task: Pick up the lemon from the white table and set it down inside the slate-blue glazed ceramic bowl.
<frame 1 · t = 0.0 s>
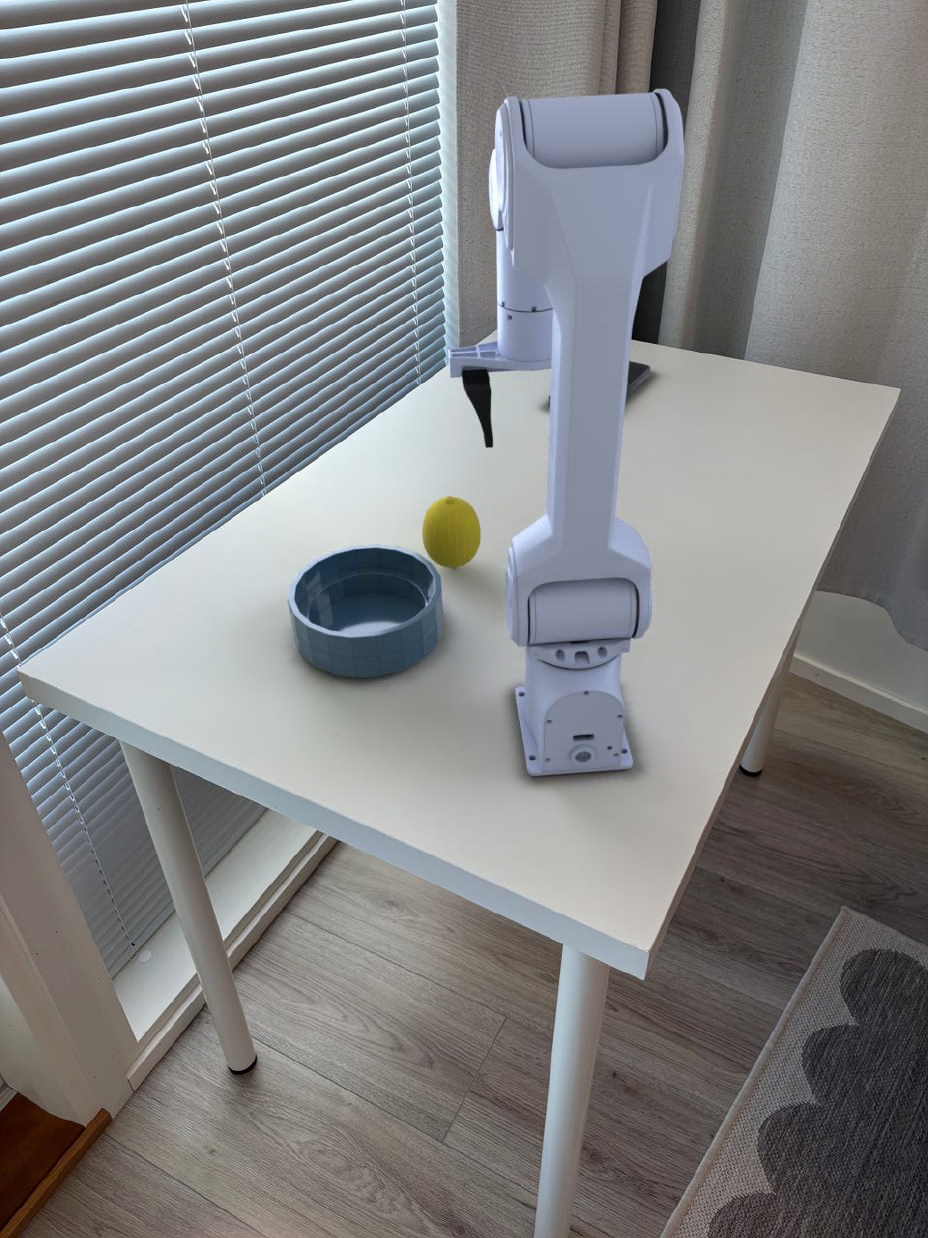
hand: (528, 440, 91), 10 cm above the table, tool pointing down, fingers open, 7 cm apart
lemon: (453, 569, 93), on the table
phone: (600, 391, 121), on the table
bowl: (370, 632, 85), on the table
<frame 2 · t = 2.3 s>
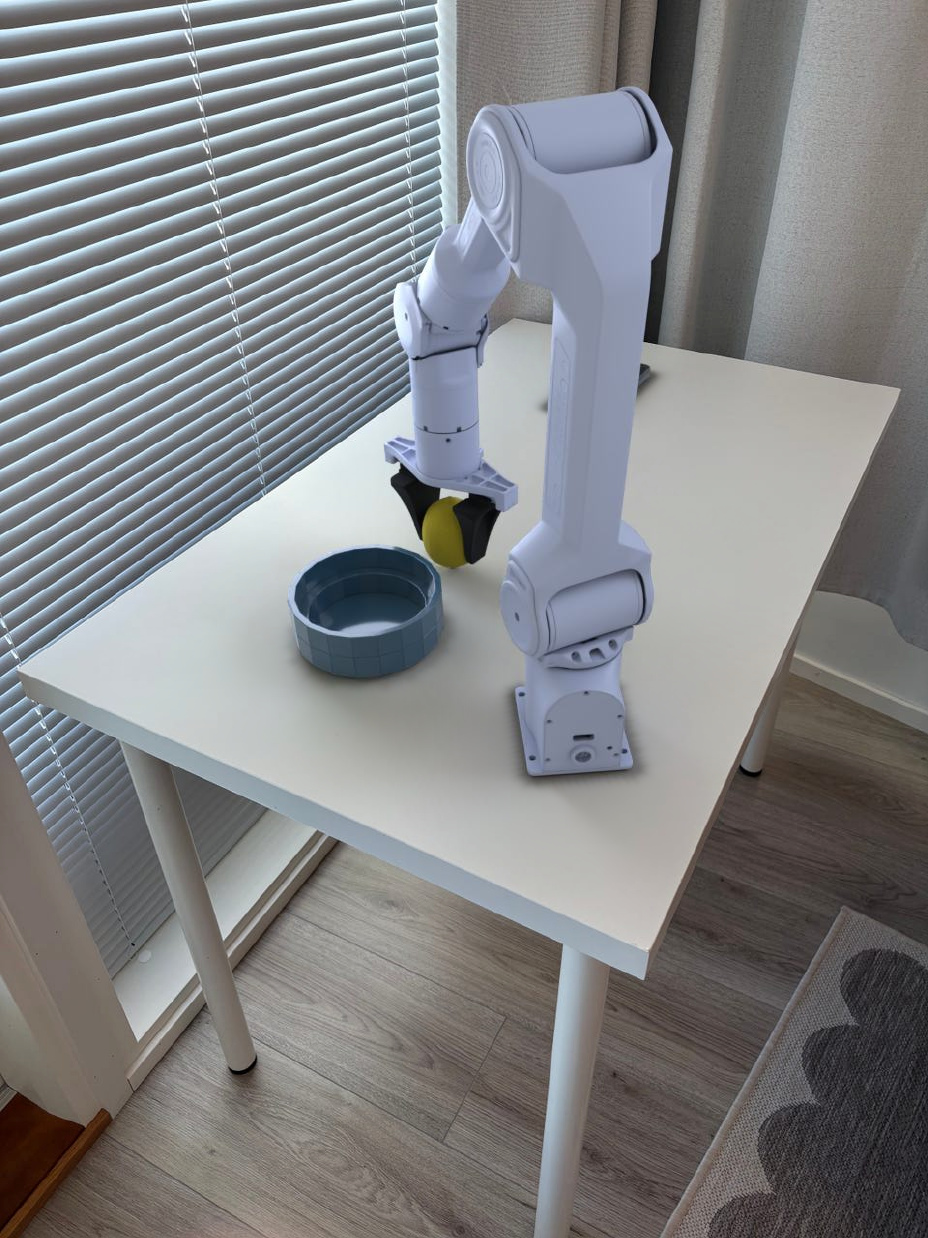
hand: (452, 547, 91), 2 cm above the table, tool pointing down, fingers closed on lemon, 5 cm apart
lemon: (453, 569, 93), on the table, touching gripper
everything else where it was.
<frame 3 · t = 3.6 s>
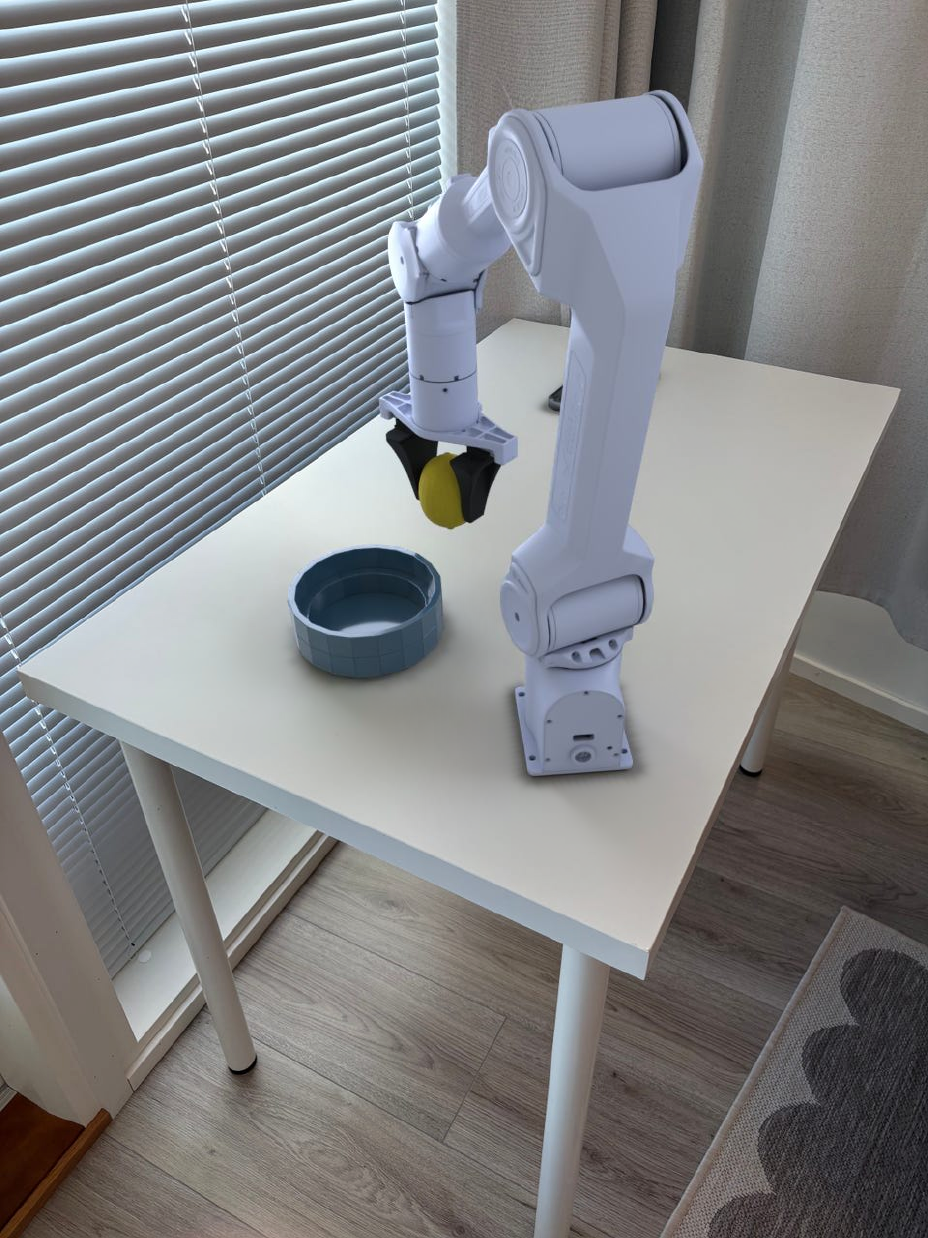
hand: (450, 506, 88), 7 cm above the table, tool pointing down, fingers closed on lemon, 5 cm apart
lemon: (450, 530, 90), point 4 cm above the table, touching gripper
everything else where it was.
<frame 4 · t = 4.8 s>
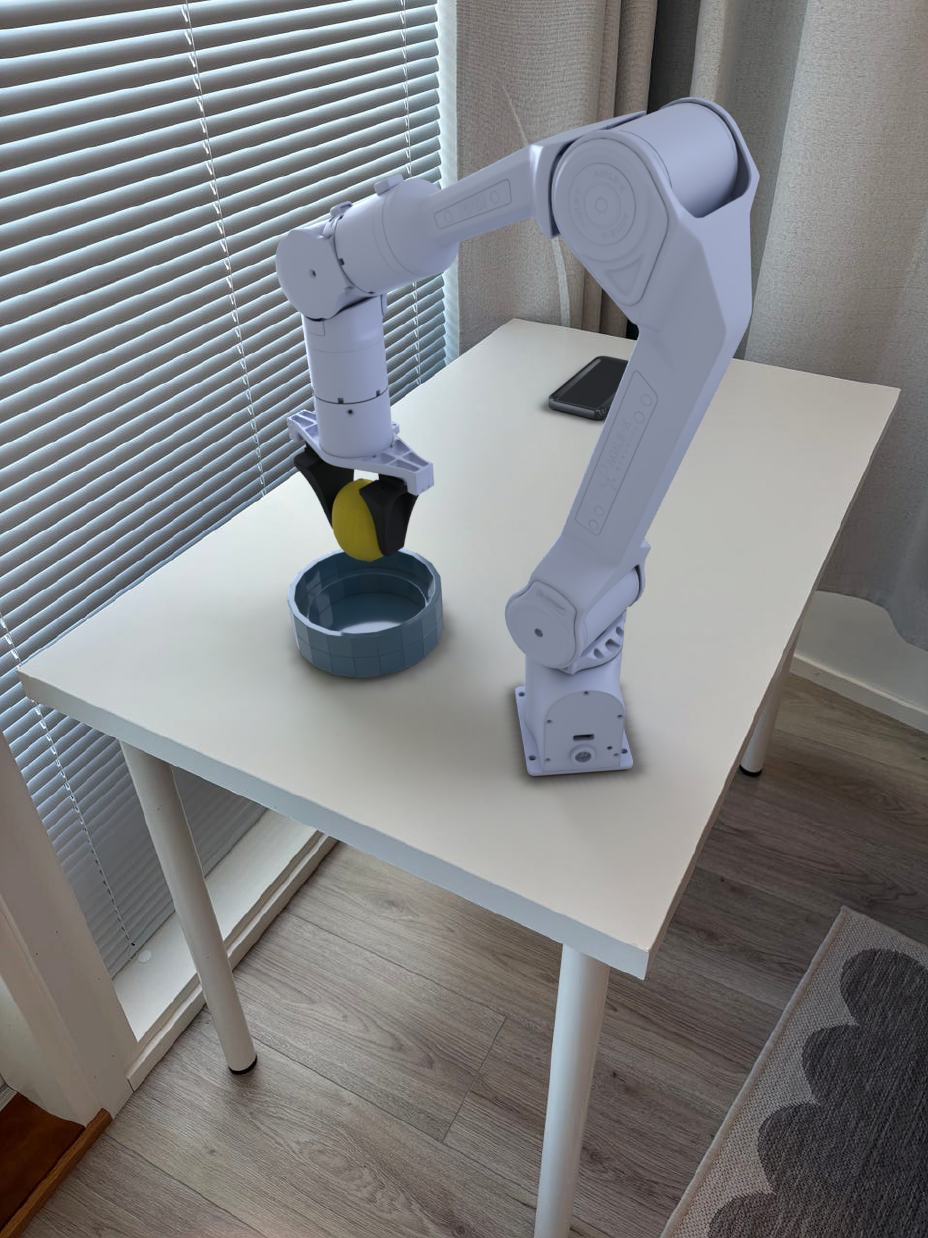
hand: (367, 537, 80), 10 cm above the table, tool pointing down, fingers closed on lemon, 5 cm apart
lemon: (370, 562, 81), point 7 cm above the table, touching gripper
everything else where it was.
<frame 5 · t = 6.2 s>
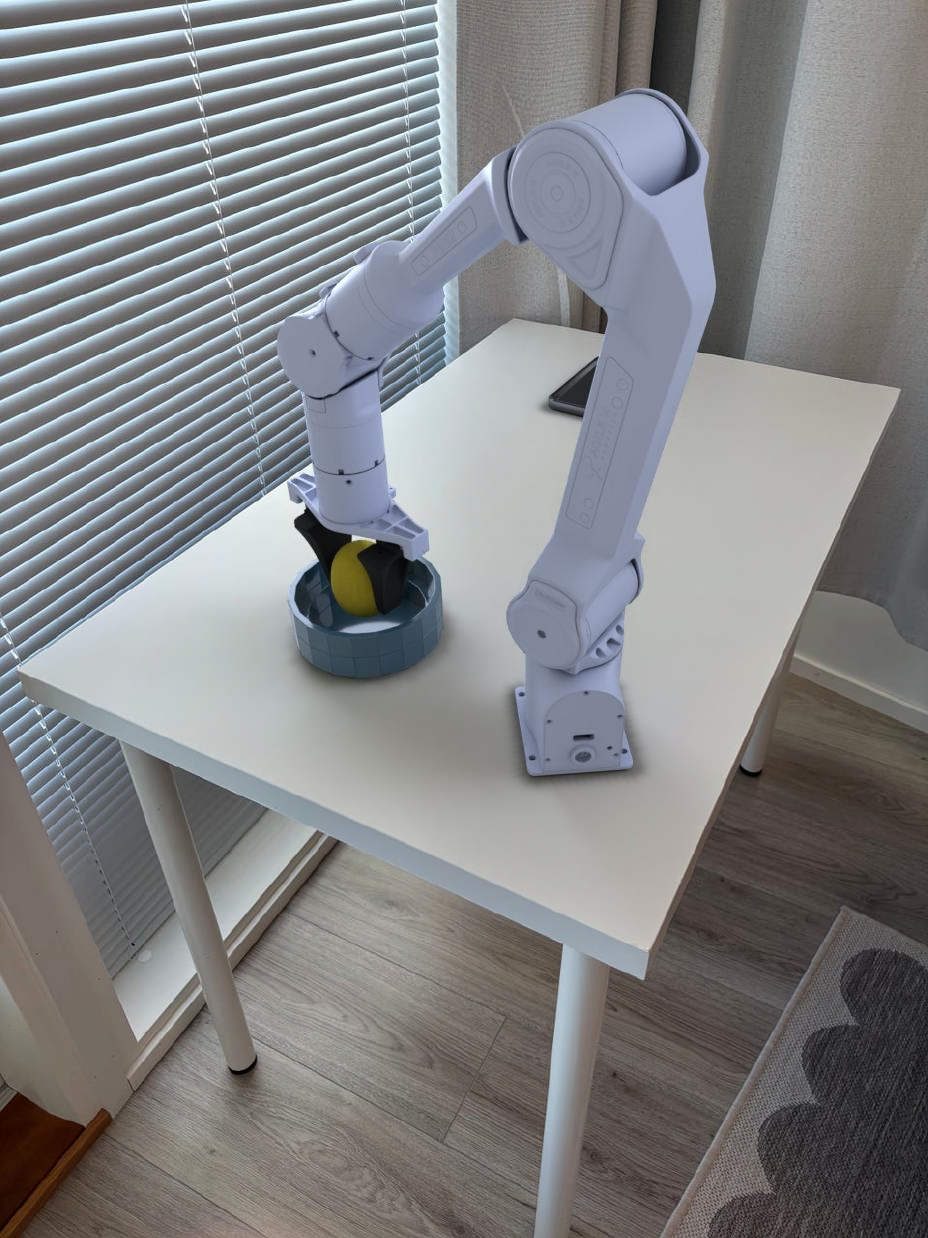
hand: (365, 594, 83), 4 cm above the table, tool pointing down, fingers closed on lemon, 5 cm apart
lemon: (368, 617, 84), point 2 cm above the table, touching gripper
everything else where it was.
when the fingers open (3 cm above the table, at t = 7.1 s): lemon stays where it is, resting on bowl.
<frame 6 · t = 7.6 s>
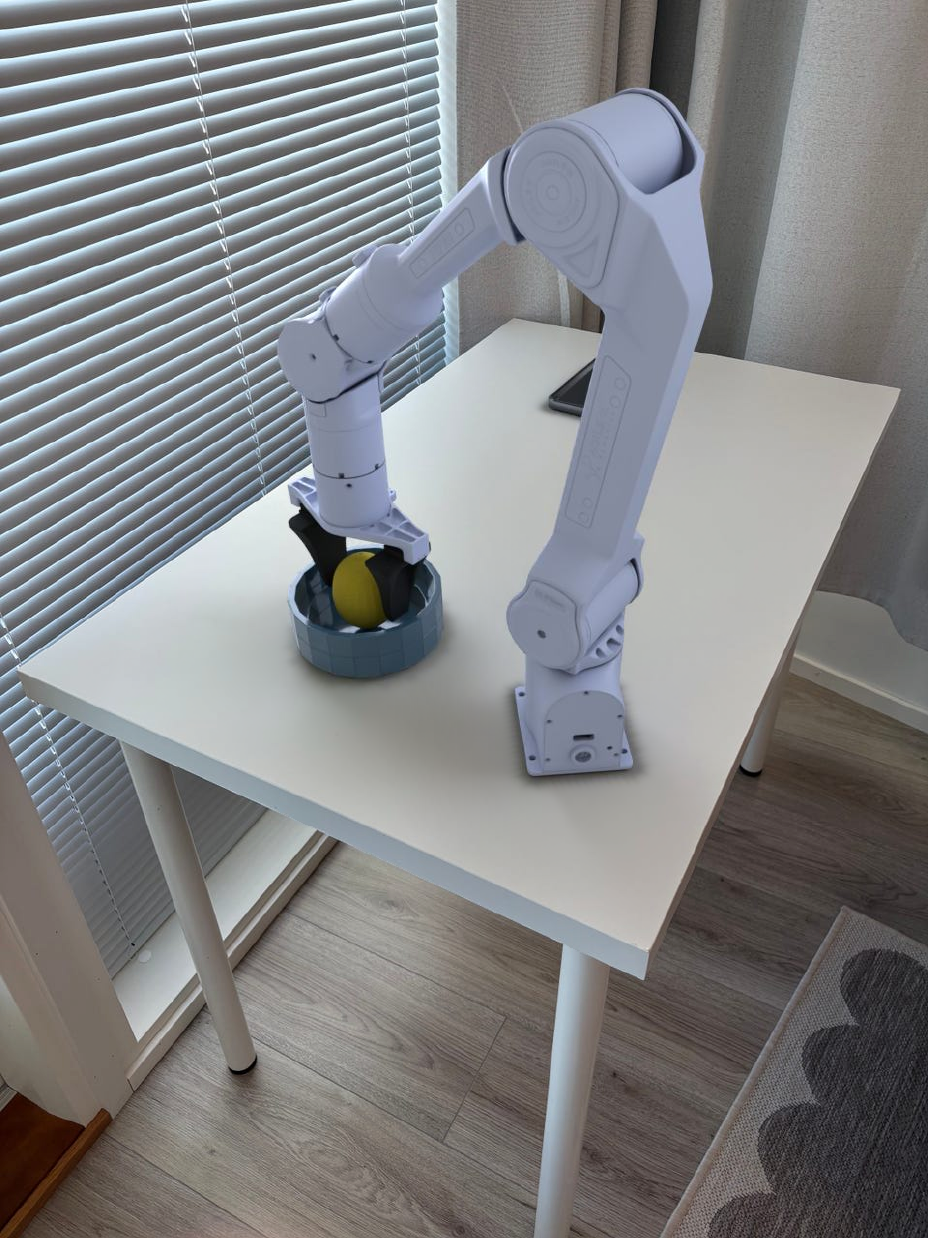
hand: (366, 597, 83), 4 cm above the table, tool pointing down, fingers open, 7 cm apart
lemon: (369, 628, 85), resting on bowl
everything else where it was.
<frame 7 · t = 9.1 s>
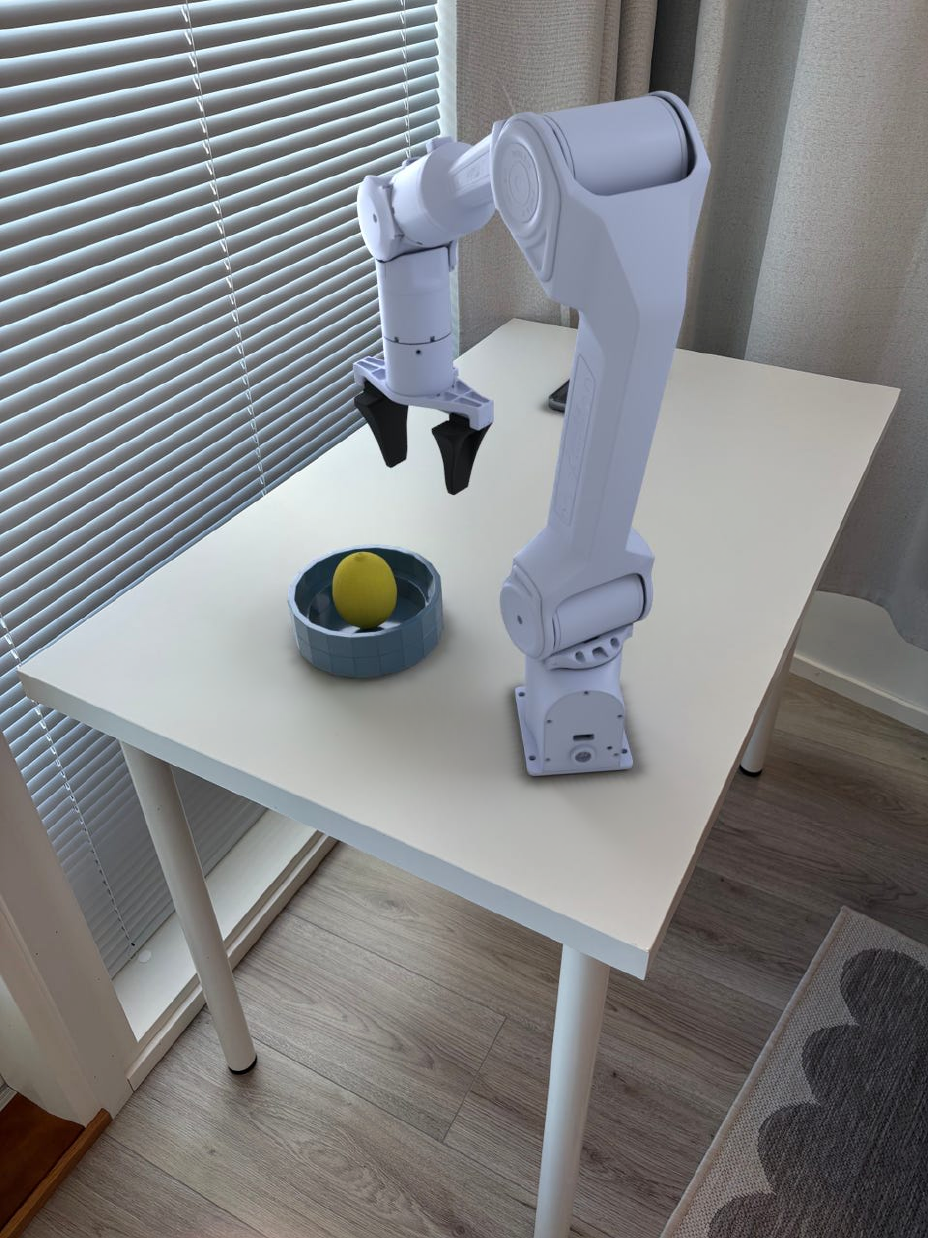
hand: (426, 476, 86), 10 cm above the table, tool pointing down, fingers open, 7 cm apart
nothing on the table moved.
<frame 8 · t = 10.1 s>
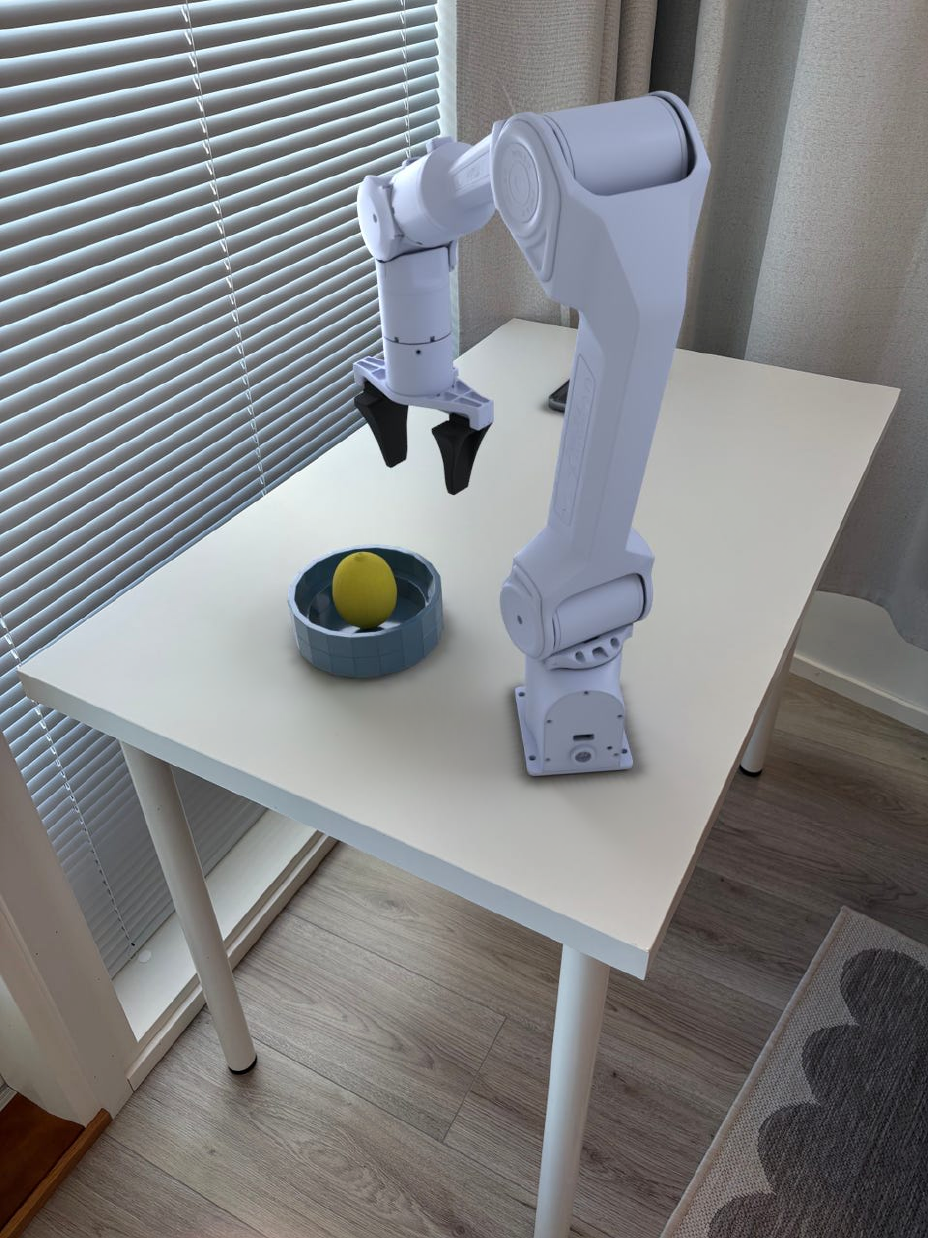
hand: (426, 476, 86), 10 cm above the table, tool pointing down, fingers open, 7 cm apart
nothing on the table moved.
at the end: lemon inside the target area in the bowl (0.0 cm from its centre), point 0.4 cm above the bowl's base; the gripper is holding nothing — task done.
